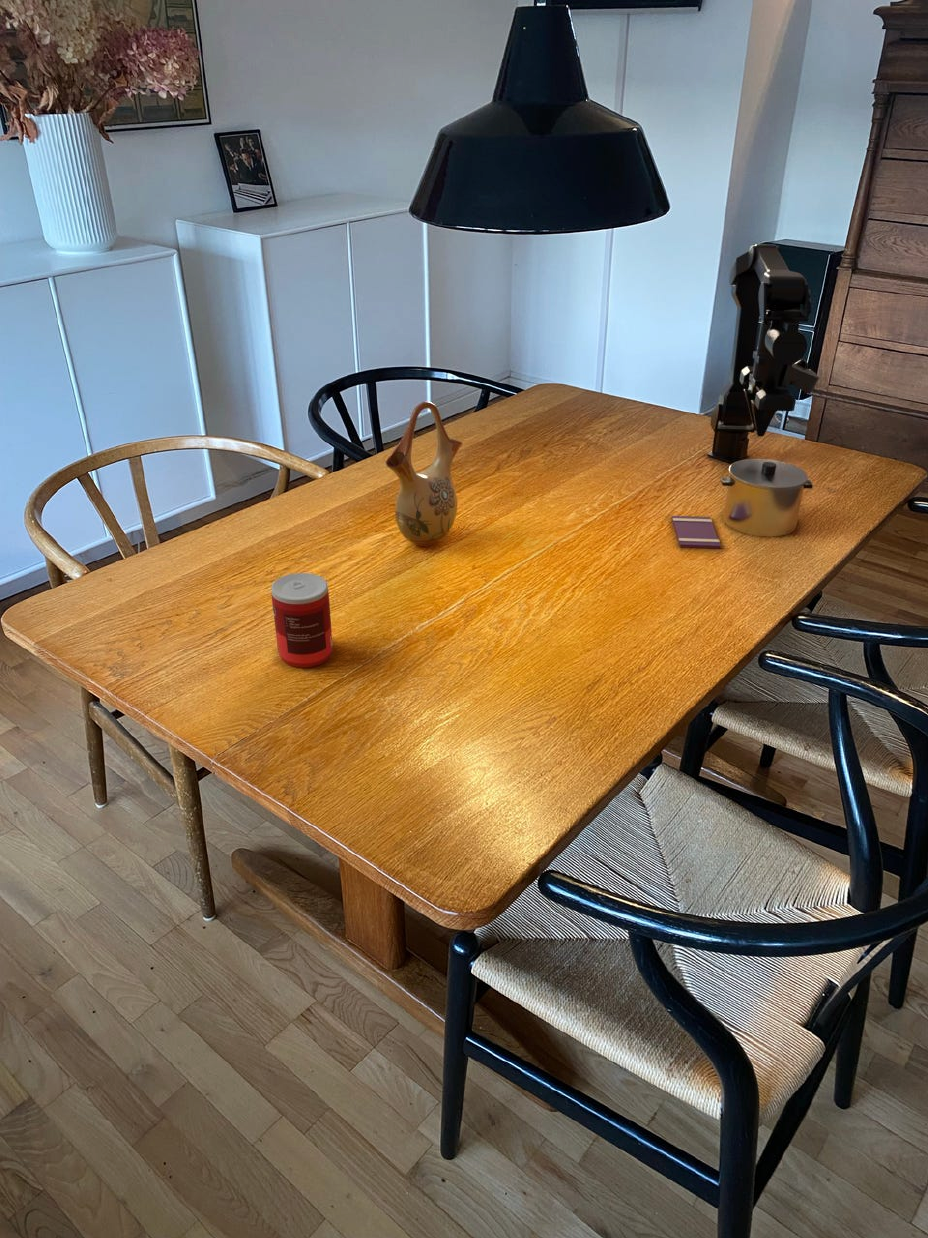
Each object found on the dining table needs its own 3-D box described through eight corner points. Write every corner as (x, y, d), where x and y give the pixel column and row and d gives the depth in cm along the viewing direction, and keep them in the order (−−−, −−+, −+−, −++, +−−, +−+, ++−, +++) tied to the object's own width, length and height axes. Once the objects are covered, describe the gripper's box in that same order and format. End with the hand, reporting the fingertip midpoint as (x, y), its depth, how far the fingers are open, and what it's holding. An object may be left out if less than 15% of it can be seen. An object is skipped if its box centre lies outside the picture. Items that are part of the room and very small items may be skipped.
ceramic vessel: (410, 564, 155) (406, 419, 142) (375, 547, 161) (367, 406, 148) (477, 534, 165) (479, 396, 153) (442, 519, 171) (440, 385, 158)
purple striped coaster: (671, 518, 172) (671, 515, 171) (709, 519, 171) (710, 516, 171) (679, 547, 161) (680, 543, 161) (720, 548, 161) (721, 545, 161)
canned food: (307, 633, 136) (300, 566, 131) (345, 652, 132) (340, 584, 126) (266, 655, 131) (258, 587, 126) (305, 675, 127) (298, 605, 121)
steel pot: (709, 505, 177) (718, 449, 171) (793, 507, 176) (805, 451, 170) (721, 536, 165) (731, 477, 160) (812, 539, 164) (825, 479, 159)
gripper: (833, 364, 157) (815, 452, 165) (806, 337, 173) (790, 418, 181) (766, 363, 158) (751, 450, 166) (745, 335, 174) (733, 416, 182)
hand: (758, 433), depth 173 cm, fingers open, 3 cm apart
